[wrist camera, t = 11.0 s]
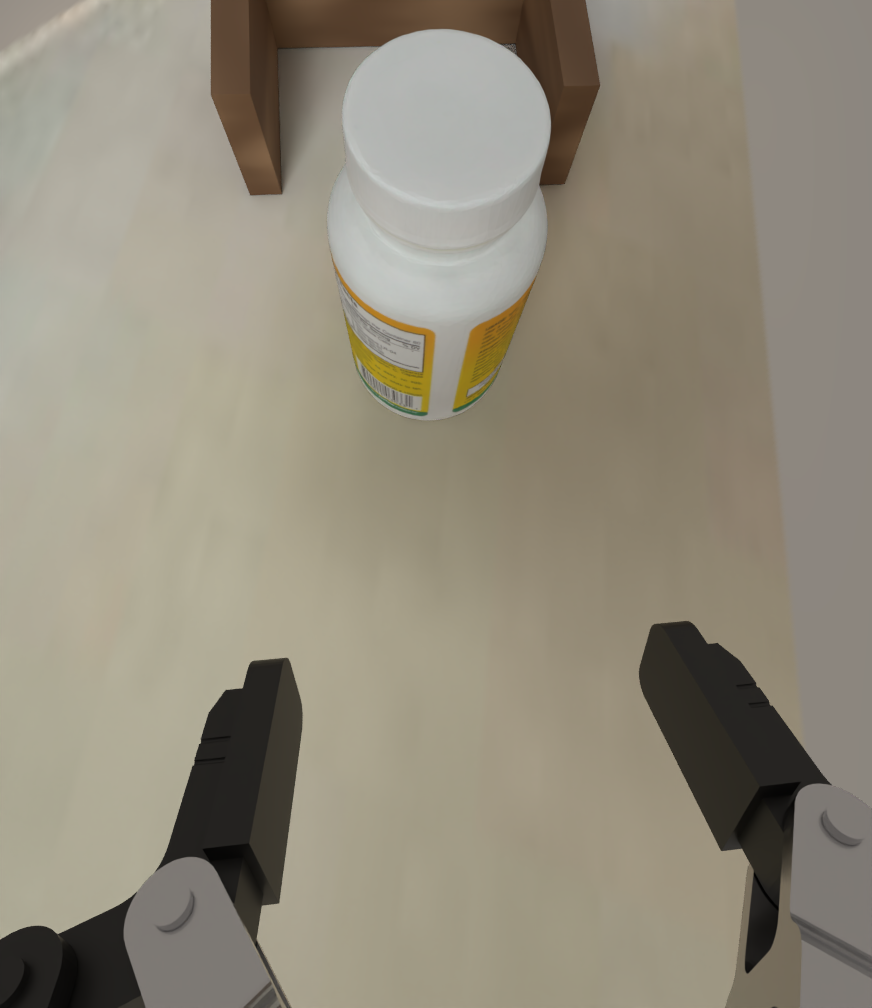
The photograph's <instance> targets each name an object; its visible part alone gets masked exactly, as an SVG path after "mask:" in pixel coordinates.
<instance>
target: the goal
mask: <svg viewBox="0 0 872 1008" xmlns="http://www.w3.org/2000/svg"><path fill="white" fill-rule="evenodd" d="M429 29H453V30H459V31H464V32H468V33H472V34H477V35H480V36H483V37H486V38H488V39H490V40H492V41H494V42H496V43H498V44H512V43H515V44H516V51H517V56H518V57H519V58H520V59H521V60H522V61H523V62H524V63H525V64H526V66H527V67H528V68H529V69H530V70H531V71H532V73H533V74H534V75H535V77H536V78H537V80H538V81H539V83H540V85H541V87H542V89H543V91H544V93H545V96H546V99H547V102H548V105H549V109H550V118H551V134H550V141H549V146H548V150H547V154H546V158H545V161H544V165H543V168H542V172H541V177H540V183H539V185H544V184H565V181H566V179H567V176H568V173H569V170H570V168H571V165H572V162H573V159H574V156H575V154H576V151H577V148H578V145H579V143H580V140H581V137H582V134H583V131H584V129H585V126H586V123H587V120H588V118H589V115H590V112H591V109H592V106H593V104H594V101H595V98H596V95H597V93H598V90H599V87H600V82H599V76H598V70H597V65H596V59H595V53H594V48H593V42H592V36H591V30H590V25H589V19H588V13H587V8H586V2H585V0H211V96H212V99H213V101H214V104H215V106H216V109H217V111H218V114H219V116H220V119H221V122H222V124H223V127H224V129H225V132H226V134H227V137H228V139H229V142H230V145H231V147H232V150H233V152H234V155H235V157H236V160H237V162H238V165H239V168H240V170H241V173H242V175H243V178H244V180H245V183H246V185H247V188H248V191H249V193H250V195H265V194H282V186H281V153H280V121H279V88H278V55H277V48H301V47H354V46H382V45H384V44H385V43H387V42H389V41H391V40H393V39H395V38H397V37H400V36H402V35H406V34H410V33H413V32H416V31H423V30H429Z"/></svg>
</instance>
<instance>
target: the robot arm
mask: <svg viewBox="0 0 872 1008" xmlns="http://www.w3.org/2000/svg"><path fill="white" fill-rule="evenodd" d="M639 679H640V685H641V689H642V692H643V695H644V697H645V699H646V701H647V703H648V705H649V707H650V709H651V711H652V713H653V715H654V717H655V719H656V721H657V723H658V725H659V727H660V729H661V731H662V733H663V735H664V737H665V739H666V741H667V743H668V745H669V747H670V749H671V751H672V753H673V755H674V757H675V759H676V761H677V763H678V765H679V767H680V769H681V771H682V773H683V775H684V777H685V779H686V781H687V783H688V785H689V787H690V789H691V791H692V793H693V795H694V797H695V799H696V801H697V803H698V805H699V807H700V809H701V811H702V813H703V815H704V817H705V819H706V821H707V823H708V825H709V827H710V829H711V831H712V833H713V835H714V837H715V839H716V841H717V843H718V846H719V848H720V850H721V851H726V850H734V849H743V851H744V853H745V855H746V857H747V859H748V860H749V862H750V864H749V866H748V870H747V875H746V884H745V893H744V902H743V911H742V920H741V929H740V938H739V947H738V956H737V965H736V972H735V978H734V982H733V985H732V989H731V991H730V994H729V996H728V999H727V1003H726V1006H725V1008H872V809H871V808H870V807H869V806H868V805H867V804H866V803H864V802H863V801H862V800H860V799H859V798H858V797H856V796H854V795H853V794H851V793H849V792H847V791H845V790H843V789H840V788H838V787H835V786H832V785H831V784H830V783H829V782H828V781H827V779H826V778H825V777H824V776H823V775H822V773H821V772H820V770H819V769H818V768H817V766H816V765H815V764H814V762H813V761H812V759H811V758H810V757H809V755H808V754H807V753H806V751H805V750H804V748H803V747H802V746H801V744H800V743H799V742H798V740H797V739H796V737H795V736H794V735H793V733H792V732H791V730H790V729H789V728H788V726H787V725H786V724H785V722H784V721H783V719H782V718H781V717H780V715H779V714H778V713H777V711H776V710H775V708H774V707H773V706H770V704H769V700H768V699H767V697H766V696H765V695H764V693H763V692H762V690H761V689H760V688H758V687H757V686H756V682H755V681H754V679H753V678H752V677H751V675H750V674H749V672H748V671H747V670H746V668H745V667H744V666H743V664H742V663H741V661H739V660H738V659H737V658H736V657H734V656H733V655H732V654H731V653H729V652H728V651H727V650H726V649H724V648H723V647H722V646H720V645H719V644H718V643H714V644H707V643H706V641H705V640H704V638H703V637H702V635H701V634H700V632H699V631H698V629H697V628H696V627H695V625H693V624H692V623H691V622H689V621H682V622H671V623H661V624H654V625H653V626H652V627H651V629H650V632H649V636H648V639H647V643H646V646H645V650H644V653H643V657H642V660H641V664H640V668H639ZM301 733H302V704H301V699H300V695H299V692H298V688H297V685H296V681H295V678H294V674H293V671H292V667H291V664H290V661H289V659H288V658H280V659H269V660H259V661H252V662H251V663H250V665H249V667H248V670H247V674H246V678H245V682H244V686H243V688H242V689H232V690H225V692H224V693H223V694H222V696H221V697H220V699H219V700H218V701H217V703H216V704H215V705H214V707H213V708H212V709H211V711H210V712H209V714H208V717H207V720H206V724H205V727H204V730H203V734H202V737H201V744H199V747H198V750H197V753H196V757H195V760H194V761H195V764H194V766H192V770H191V773H190V776H189V780H188V783H187V786H186V789H185V793H184V796H183V799H182V803H181V806H180V809H179V812H178V816H177V819H176V822H175V825H174V829H173V832H172V835H171V839H170V842H169V845H168V848H167V851H166V853H165V856H164V858H163V860H162V862H161V864H160V865H159V867H158V868H157V870H156V871H155V873H154V874H153V875H151V876H150V877H149V878H148V879H147V881H146V882H145V883H144V884H143V885H142V886H141V888H140V889H139V890H138V892H136V893H135V894H134V895H133V896H132V897H130V898H129V899H128V900H126V901H125V902H123V903H122V904H120V905H118V906H116V907H114V908H113V909H110V910H108V911H106V912H104V913H102V914H100V915H98V916H96V917H94V918H91V919H89V920H87V921H85V922H83V923H81V924H79V925H77V926H75V927H72V928H70V929H68V930H66V931H64V932H62V933H60V934H56V933H55V932H54V931H53V930H52V929H50V928H47V927H44V926H30V927H26V928H23V929H20V930H17V931H15V932H13V933H11V934H9V935H7V936H6V937H4V938H2V939H1V940H0V1008H292V1007H291V1005H290V1003H289V1001H288V999H287V997H286V995H285V993H284V991H283V989H282V987H281V985H280V983H279V981H278V979H277V977H276V975H275V973H274V971H273V969H272V967H271V965H270V963H269V961H268V959H267V957H266V955H265V953H264V951H263V949H262V947H261V945H260V944H259V942H258V940H257V932H258V926H259V919H260V913H261V907H262V905H270V904H278V903H279V900H280V892H281V885H282V877H283V870H284V862H285V854H286V847H287V839H288V832H289V824H290V817H291V809H292V801H293V794H294V786H295V779H296V771H297V764H298V756H299V748H300V741H301Z"/></svg>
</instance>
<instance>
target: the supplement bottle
mask: <svg viewBox="0 0 872 1008" xmlns="http://www.w3.org/2000/svg"><path fill="white" fill-rule="evenodd" d="M342 130H343V138H344V146H345V154H346V159H345V161H346V163H345V165H344V166H343V168H342V170H341V171H340V173H339V175H338V177H337V179H336V181H335V183H334V186H333V189H332V192H331V195H330V200H329V205H328V212H327V231H328V240H329V246H330V251H331V256H332V260H333V265H334V269H335V274H336V279H337V283H338V288H339V293H340V297H341V302H342V306H343V311H344V316H345V321H346V326H347V330H348V334H349V339H350V344H351V348H352V353H353V358H354V361H355V365H356V369H357V372H358V374H359V376H360V379H361V381H362V382H363V384H364V386H365V387H366V389H367V390H368V391H369V393H370V394H371V395H372V396H373V397H374V398H375V399H376V400H377V401H378V402H379V403H380V404H382V405H383V406H385V407H386V408H388V409H389V410H391V411H393V412H394V413H397V414H399V415H401V416H404V417H407V418H411V419H418V420H440V419H446V418H449V417H452V416H455V415H458V414H461V413H463V412H465V411H466V410H468V409H469V408H471V407H472V406H473V405H475V404H476V403H477V402H478V401H479V400H480V399H481V398H482V397H483V396H484V395H485V394H486V393H487V391H488V390H489V389H490V387H491V386H492V384H493V382H494V380H495V378H496V376H497V374H498V372H499V369H500V367H501V364H502V361H503V359H504V357H505V354H506V351H507V349H508V346H509V344H510V341H511V339H512V336H513V333H514V331H515V328H516V326H517V323H518V321H519V318H520V316H521V313H522V311H523V308H524V306H525V303H526V301H527V298H528V296H529V293H530V290H531V288H532V286H533V283H534V281H535V278H536V275H537V273H538V270H539V267H540V265H541V262H542V259H543V255H544V252H545V247H546V241H547V232H548V222H547V212H546V206H545V202H544V198H543V194H542V191H541V189H540V186H539V183H540V177H541V172H542V168H543V165H544V161H545V158H546V154H547V150H548V146H549V141H550V134H551V118H550V109H549V105H548V102H547V99H546V96H545V93H544V91H543V89H542V87H541V85H540V83H539V81H538V80H537V78H536V77H535V75H534V74H533V73H532V71H531V70H530V69H529V68H528V67H527V66H526V64H525V63H524V62H523V61H522V60H521V59H520V58H519V57H518V56H517V55H515V54H514V53H513V52H511V51H510V50H508V49H507V48H505V47H504V46H502V45H500V44H498V43H496V42H494V41H492V40H490V39H488V38H486V37H483V36H480V35H477V34H472V33H468V32H464V31H459V30H453V29H429V30H423V31H416V32H413V33H410V34H406V35H402V36H400V37H397V38H395V39H393V40H391V41H389V42H387V43H385V44H384V45H382V46H381V47H380V48H378V49H377V50H375V51H374V52H372V53H371V54H370V55H369V56H367V57H366V58H365V60H364V61H363V62H362V63H361V64H360V65H359V66H358V68H357V69H356V71H355V72H354V74H353V76H352V77H351V79H350V81H349V83H348V86H347V89H346V92H345V96H344V100H343V106H342Z"/></svg>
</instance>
